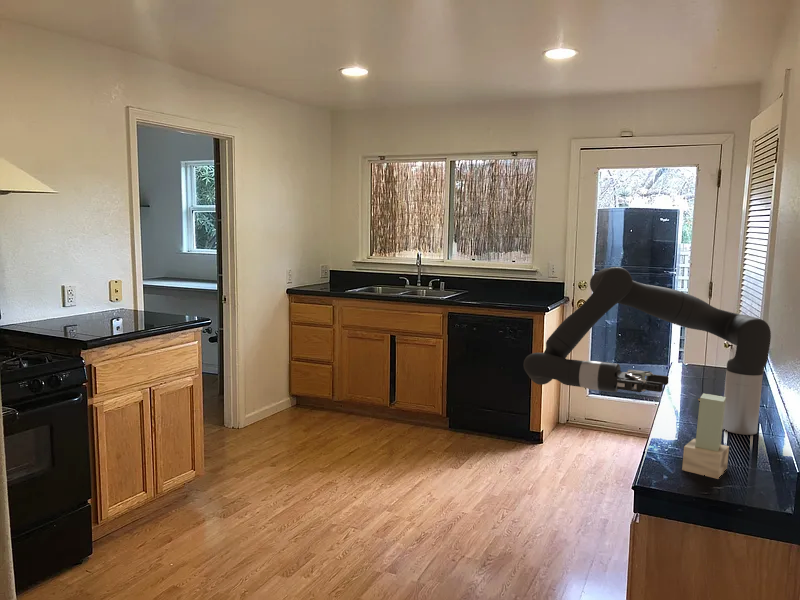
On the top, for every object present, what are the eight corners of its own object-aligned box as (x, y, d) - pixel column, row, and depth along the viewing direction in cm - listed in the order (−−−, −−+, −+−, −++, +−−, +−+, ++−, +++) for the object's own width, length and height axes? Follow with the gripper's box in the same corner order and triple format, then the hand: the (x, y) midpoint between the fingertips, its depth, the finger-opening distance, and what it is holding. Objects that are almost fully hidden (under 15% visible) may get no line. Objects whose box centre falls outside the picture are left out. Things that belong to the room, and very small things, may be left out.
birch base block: (691, 461, 161) (693, 438, 161) (726, 470, 156) (729, 446, 156) (681, 470, 155) (684, 446, 154) (718, 479, 150) (720, 454, 149)
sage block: (698, 441, 158) (703, 393, 157) (720, 445, 156) (726, 397, 154) (695, 446, 154) (700, 397, 153) (718, 451, 152) (723, 401, 150)
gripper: (593, 367, 164) (661, 375, 156) (606, 357, 176) (670, 364, 168) (592, 396, 165) (659, 405, 157) (605, 384, 177) (669, 392, 169)
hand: (665, 384), depth 163 cm, fingers open, 8 cm apart
